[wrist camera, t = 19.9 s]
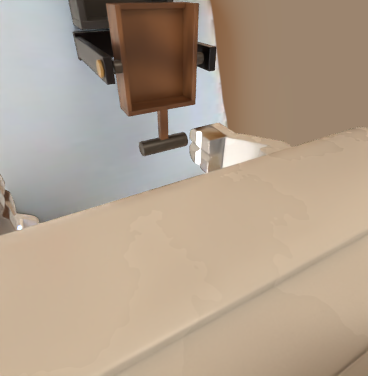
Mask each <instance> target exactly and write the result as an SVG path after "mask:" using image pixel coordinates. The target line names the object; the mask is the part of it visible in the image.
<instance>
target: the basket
mask: <svg viewBox="0 0 368 376" xmlns="http://www.w3.org/2000/svg"><path fill="white" fill-rule="evenodd" d="M68 1H69V6H70V10H71V15H72V20H73V24H74V25H75V26H77V27H79V28H80V29H82V30H83V29H103V28H109V22H108V15H107V8H106V3H152V2H173V0H68Z"/></svg>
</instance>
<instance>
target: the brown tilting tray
mask: <svg viewBox="0 0 368 376" xmlns="http://www.w3.org/2000/svg"><path fill="white" fill-rule="evenodd" d="M106 8H107V15H108V22H109V29H110V36H111V43H112V50H113V57H114V60H113V61H112V65H113V72H114V74H116V78H117V85H118V92H119V99H120V107H121V109H122V110H123V111H124V112H125V113H126V114H127V115H128V116H134V115H140V114H145V113H151V112H156V111H157V114H158V132H159V138H155V139H150V140H146V141H141V142H139V149H140V152H141V154H142V156H147V155H151V154H155V153H159V152H163V151H167V150H171V149H175V148H179V147H183V146H186V145H187V144H188V139H187V135H186V134H185V133H184V132H181V133H177V134H172V135H168V110H167V109H172V108H178V107H183V106H189V105H194V104H195V98H196V69H197V64H202V63H203V61H204V55H203V53H202V52H197V41H198V13H199V3H190V2H152V3H106Z"/></svg>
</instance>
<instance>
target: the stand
mask: <svg viewBox="0 0 368 376" xmlns="http://www.w3.org/2000/svg"><path fill="white" fill-rule="evenodd" d="M73 36H74V40H75V45H76V50H77V54H78V59H79V60H83V61H84V62H85V63H86V64H87V65H88V66H89V67H90V68H91V69H92V70H93V71H94V72H95V73H96V74H97V75H98V76H99V77H100V78H101V79H102V80H103V81H104V82H105V83H106V84H107V85H109V84H115V78H114V72H113V65H112V58H111V57H113V50H112V43H111V36H110V30H107V31H88V32H73ZM197 52H202V53H203V55H204V61H203V63H202V64H197V66H198V67H200V68H203V69H205V70H207V71H214V70H215V60H216V47H215V46H211V45H208V44H204V43H201V42H197Z"/></svg>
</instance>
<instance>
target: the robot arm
mask: <svg viewBox="0 0 368 376" xmlns="http://www.w3.org/2000/svg"><path fill="white" fill-rule="evenodd" d="M190 139H191V141H192V143H191V145H190V146H189V150H190V156H191V159H192V160H193V162H194V163H196V164H199V165H200V168H201V169H202V170H203V171H204V172H205V174H201V175H198V176H195V177H191V178H188V179H185V180H182V181H178V182H175V183H172V184H168V185H165V186H162V187H158V188H155V189H152V190H149V191H145V192H142V193H139V194H135V195H132V196H129V197H125V198H122V199H119V200H116V201H112V202H109V203H106V204H102V205H99V206H96V207H92V208H89V209H86V210H82V211H79V212H76V213H73V214H69V215H66V216H63V217H59V218H56V219H53V220H49V221H46V222H43V223H40V224H39V220H38V218H37V217H35V216H32V215H26V214H18V213H16V207H15V203H14V200H13V197H12V195H11V193H10V192H9V191H7V190H5V181H4V180H3V178H2V176H1V174H0V376H368V128H362V127H357V128H352V129H349V130H346V131H343V132H339V133H337V134H333V135H330V136H326V137H323V138H320V139H316V140H313V141H310V142H307V143H303V144H300V145H297V146H291V145H289V144H287V143H285V142H284V141H279V140H273V139H268V138H262V137H257V136H251V135H245V134H240V133H239V134H236V133H234V132H233V131H231V130H230V129H228V128H226V127H225V126H223V125H222V124H220V123H215V124H211V125H206V126H202V127H198V128H194V129H192V130H191V131H190Z"/></svg>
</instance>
